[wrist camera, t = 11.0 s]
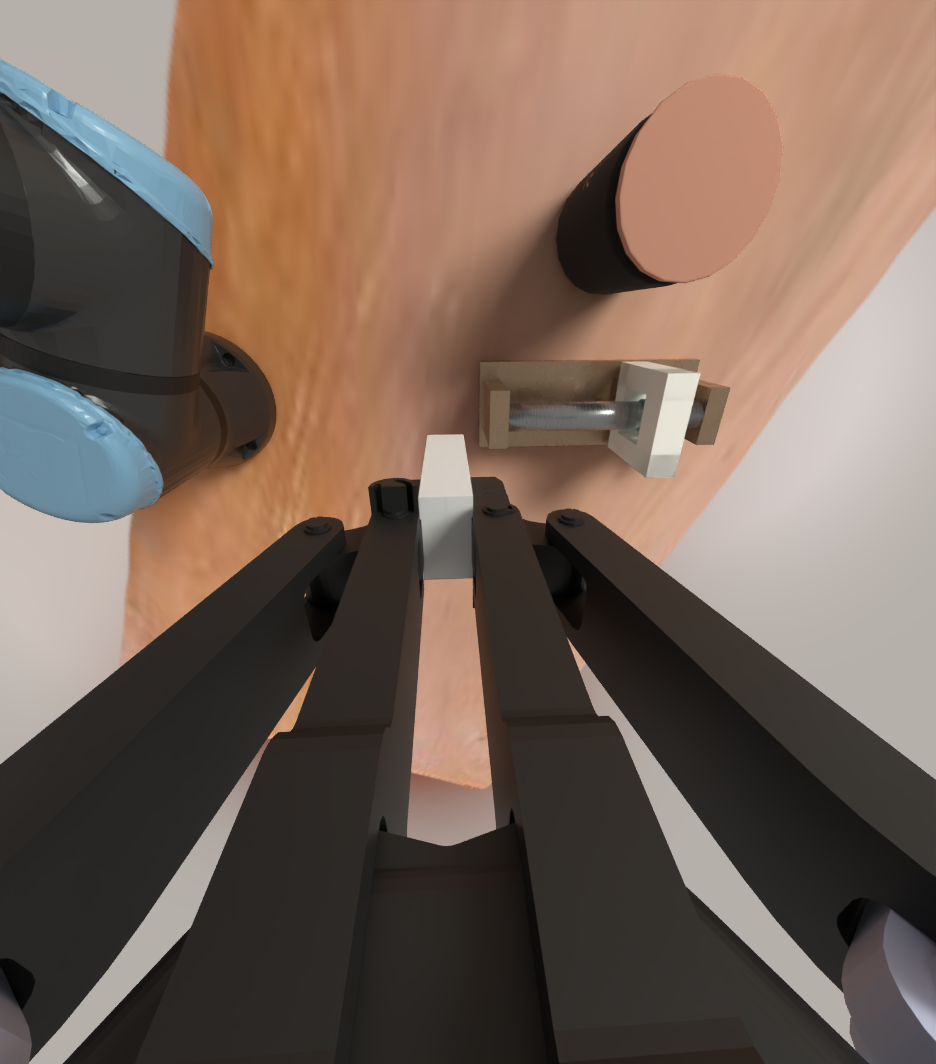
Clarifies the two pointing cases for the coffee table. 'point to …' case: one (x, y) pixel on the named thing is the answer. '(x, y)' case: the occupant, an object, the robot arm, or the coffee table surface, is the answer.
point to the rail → (576, 403)
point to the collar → (655, 416)
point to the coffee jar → (675, 191)
